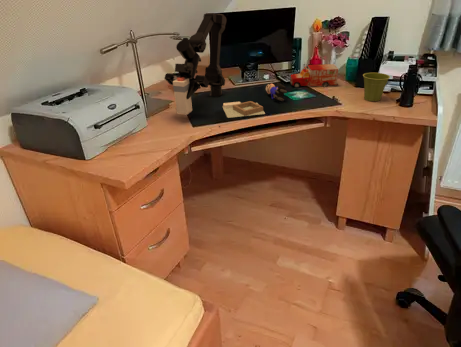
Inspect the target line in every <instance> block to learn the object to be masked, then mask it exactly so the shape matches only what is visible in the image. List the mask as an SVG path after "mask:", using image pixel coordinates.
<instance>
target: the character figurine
mask: <svg viewBox="0 0 461 347" xmlns="http://www.w3.org/2000/svg"><path fill="white" fill-rule="evenodd" d="M265 92H266V93H267V94H268V95H270V96H271V100H277V101H281V102H284V101H285V99H284V94H287V93H288V91H287V87H286V86H285V85H283V84H281V83H280V82H278V81H276V84H273V83H268V84H266V85H265Z"/></svg>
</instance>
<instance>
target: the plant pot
mask: <svg viewBox="0 0 461 347" xmlns="http://www.w3.org/2000/svg"><path fill="white" fill-rule="evenodd" d="M362 76H363V77H362V78H363V83H364V86H363V88H364V89H363V90H364V91H363V92H364V96H363V97H364V99H365V101H369V102H378V101H380V100H381V99H382V96H383V93H384V91H385V87H386V85H387V83H388V82H389V79H390V78H391V76H390V75H389V74H385V73H383V72H365V73H363V74H362Z"/></svg>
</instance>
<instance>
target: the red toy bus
mask: <svg viewBox="0 0 461 347" xmlns="http://www.w3.org/2000/svg"><path fill="white" fill-rule="evenodd" d="M338 76H339V68H338V66H337V65H335V63H330V64H329V63H327V64H308V65H307V66H304V68H302V70H301V71H300V72H299V73H294V74H291V75H290V78H289V83H290V85H291V86H294V87H293V88H295V87H298V88H300V87H302V86H303V87H305V86H309V87H319V86H321V87H323V88H328V86H339V84H338Z"/></svg>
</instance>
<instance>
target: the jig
mask: <svg viewBox="0 0 461 347" xmlns="http://www.w3.org/2000/svg"><path fill="white" fill-rule="evenodd" d="M222 109H223V111H224V113H225V116H226V118H228V119H229V118H238V117H247V116H249V117H250V116H256V115H265V114H266V113H265V111H264V106H262V105H260V104H259V103H258V102H254V101H252V100H249V101H245V102H240V104H236V105H233V108H226V109H224V107H223V105H222Z"/></svg>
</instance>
